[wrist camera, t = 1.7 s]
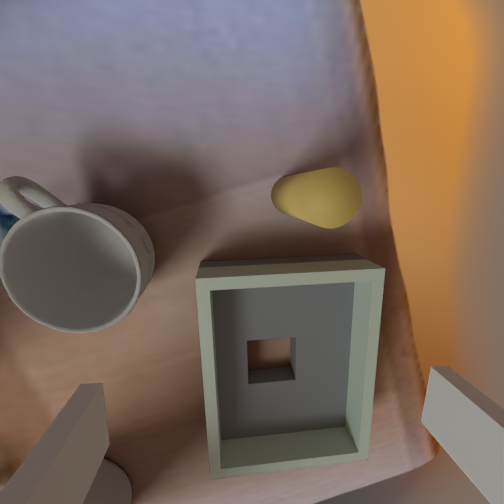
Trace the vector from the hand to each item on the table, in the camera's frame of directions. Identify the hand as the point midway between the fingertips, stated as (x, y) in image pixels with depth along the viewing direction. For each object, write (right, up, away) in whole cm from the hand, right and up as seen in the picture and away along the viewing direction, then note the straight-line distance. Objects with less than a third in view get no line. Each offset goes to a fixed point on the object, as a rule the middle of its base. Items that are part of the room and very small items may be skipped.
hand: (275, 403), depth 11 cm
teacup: (-17, +7, +18) cm, 26 cm away
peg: (+3, +12, +19) cm, 23 cm away
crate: (+3, -6, +23) cm, 24 cm away
